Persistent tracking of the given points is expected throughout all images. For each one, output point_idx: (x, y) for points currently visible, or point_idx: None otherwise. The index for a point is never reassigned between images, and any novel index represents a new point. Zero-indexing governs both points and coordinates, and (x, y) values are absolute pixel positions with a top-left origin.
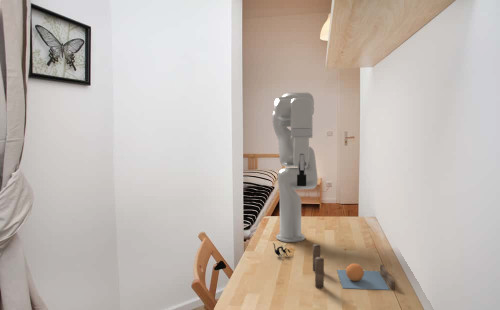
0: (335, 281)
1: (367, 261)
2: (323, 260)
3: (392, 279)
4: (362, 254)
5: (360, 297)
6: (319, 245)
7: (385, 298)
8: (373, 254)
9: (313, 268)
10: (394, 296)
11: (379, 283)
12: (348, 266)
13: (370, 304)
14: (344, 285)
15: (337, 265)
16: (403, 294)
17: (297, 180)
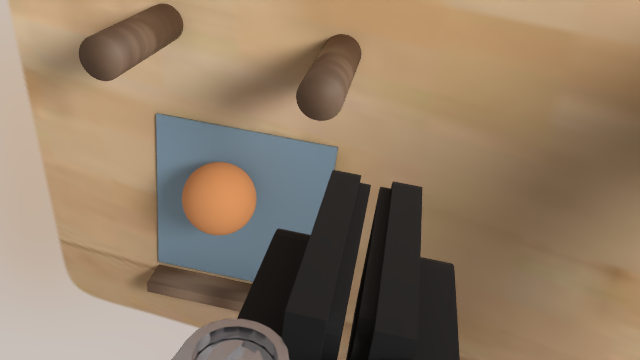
0: (220, 105)
1: None
2: (95, 74)
3: (169, 294)
4: (518, 314)
5: (92, 150)
6: (312, 113)
7: (98, 222)
8: (507, 352)
9: (332, 39)
10: (116, 253)
11: (203, 251)
12: (212, 187)
13: (48, 162)
14: (177, 127)
15: (397, 167)
16: (133, 283)
17: (312, 230)
